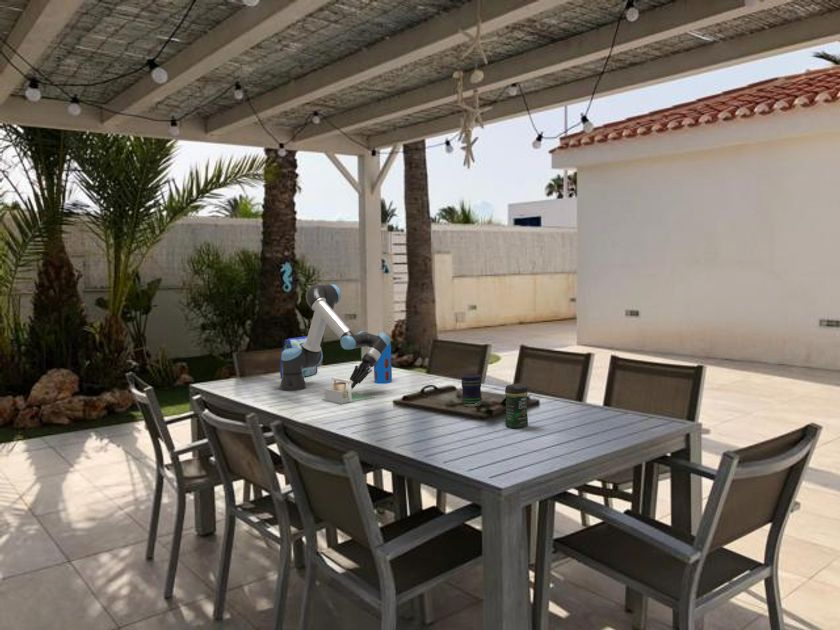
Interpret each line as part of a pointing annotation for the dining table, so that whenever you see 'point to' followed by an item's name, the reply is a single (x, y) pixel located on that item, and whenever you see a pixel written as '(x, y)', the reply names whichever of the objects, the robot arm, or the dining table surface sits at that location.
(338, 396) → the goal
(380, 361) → the thermos
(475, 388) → the storage jar
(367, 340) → the robot arm
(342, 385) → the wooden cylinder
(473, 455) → the dining table surface
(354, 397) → the pitch
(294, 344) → the lunch bag
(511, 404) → the coffee jar
